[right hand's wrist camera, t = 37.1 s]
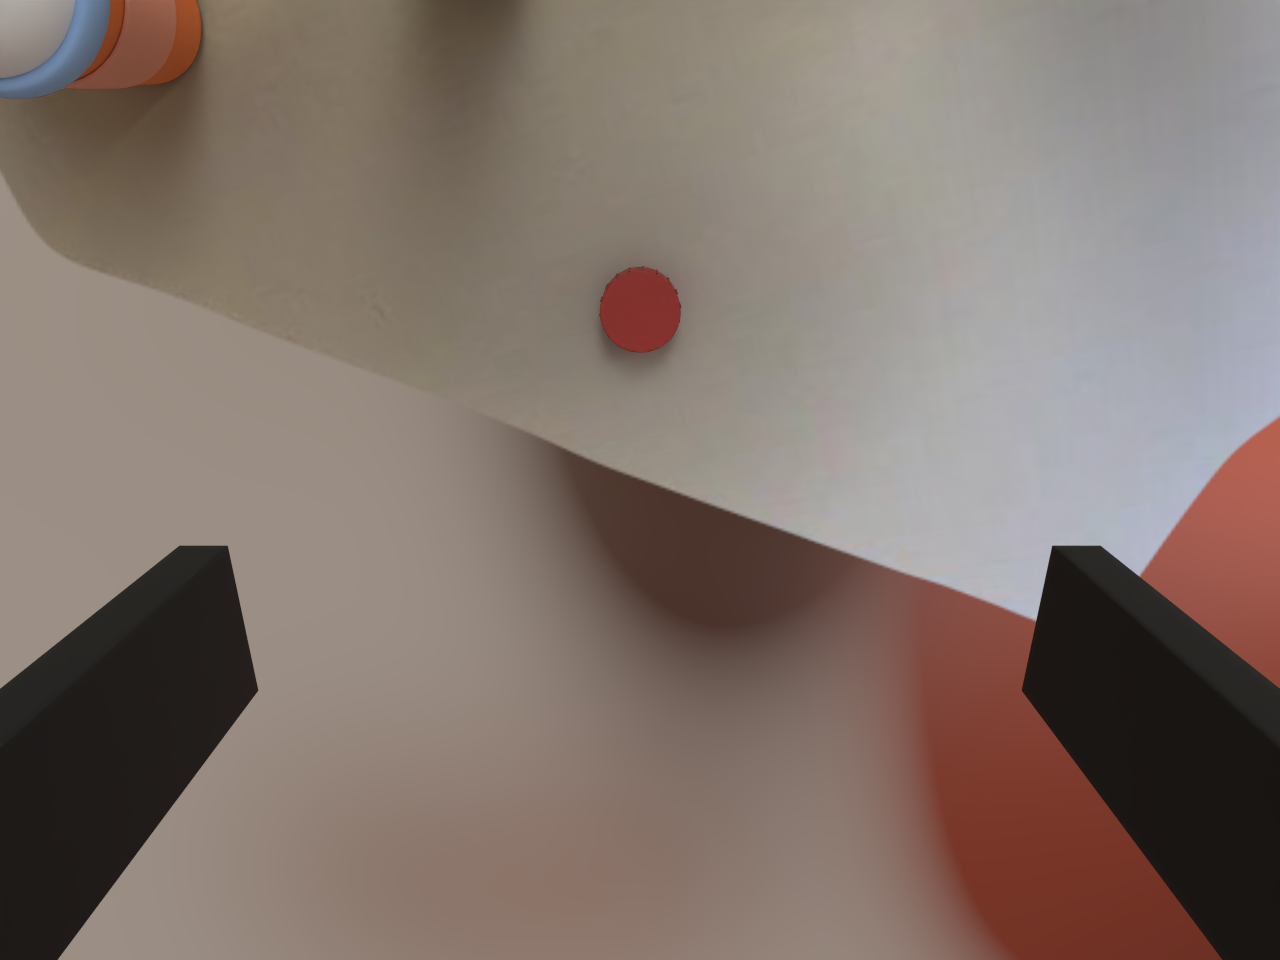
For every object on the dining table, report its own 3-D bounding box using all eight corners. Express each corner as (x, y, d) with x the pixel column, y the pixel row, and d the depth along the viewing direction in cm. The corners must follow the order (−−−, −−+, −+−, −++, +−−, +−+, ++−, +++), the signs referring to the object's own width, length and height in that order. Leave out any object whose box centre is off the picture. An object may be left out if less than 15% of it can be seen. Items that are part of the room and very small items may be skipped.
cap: (599, 342, 44) (596, 350, 42) (603, 262, 43) (601, 266, 41) (675, 348, 45) (677, 356, 43) (682, 269, 43) (684, 273, 41)
